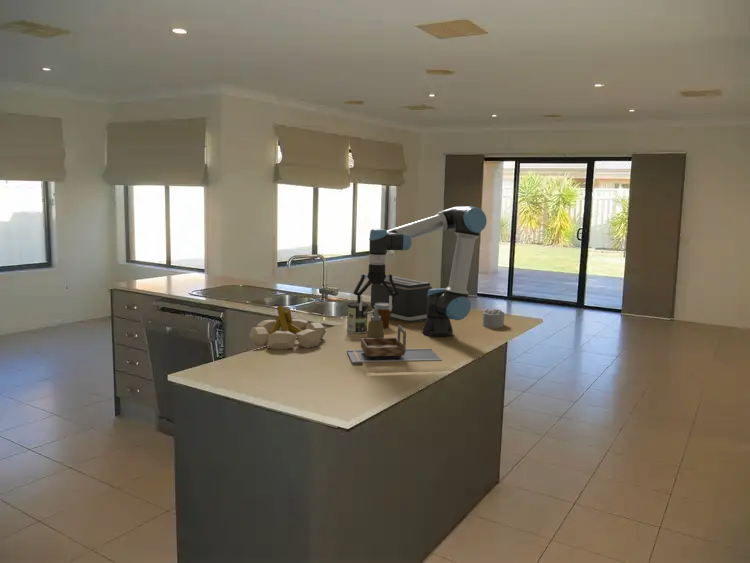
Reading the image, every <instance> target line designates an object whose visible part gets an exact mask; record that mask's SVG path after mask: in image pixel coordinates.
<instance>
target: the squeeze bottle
mask: <svg viewBox="0 0 750 563" xmlns="http://www.w3.org/2000/svg"><path fill="white" fill-rule="evenodd" d="M380 320H381V316H379V314H378V309H377V308H375V310H374V314H373V313H372V315H371V316H370V320H369V321H368V323H367V332H366V338H385V334H384V332H385V331H384V328H383V322H382V321H380Z"/></svg>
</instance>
